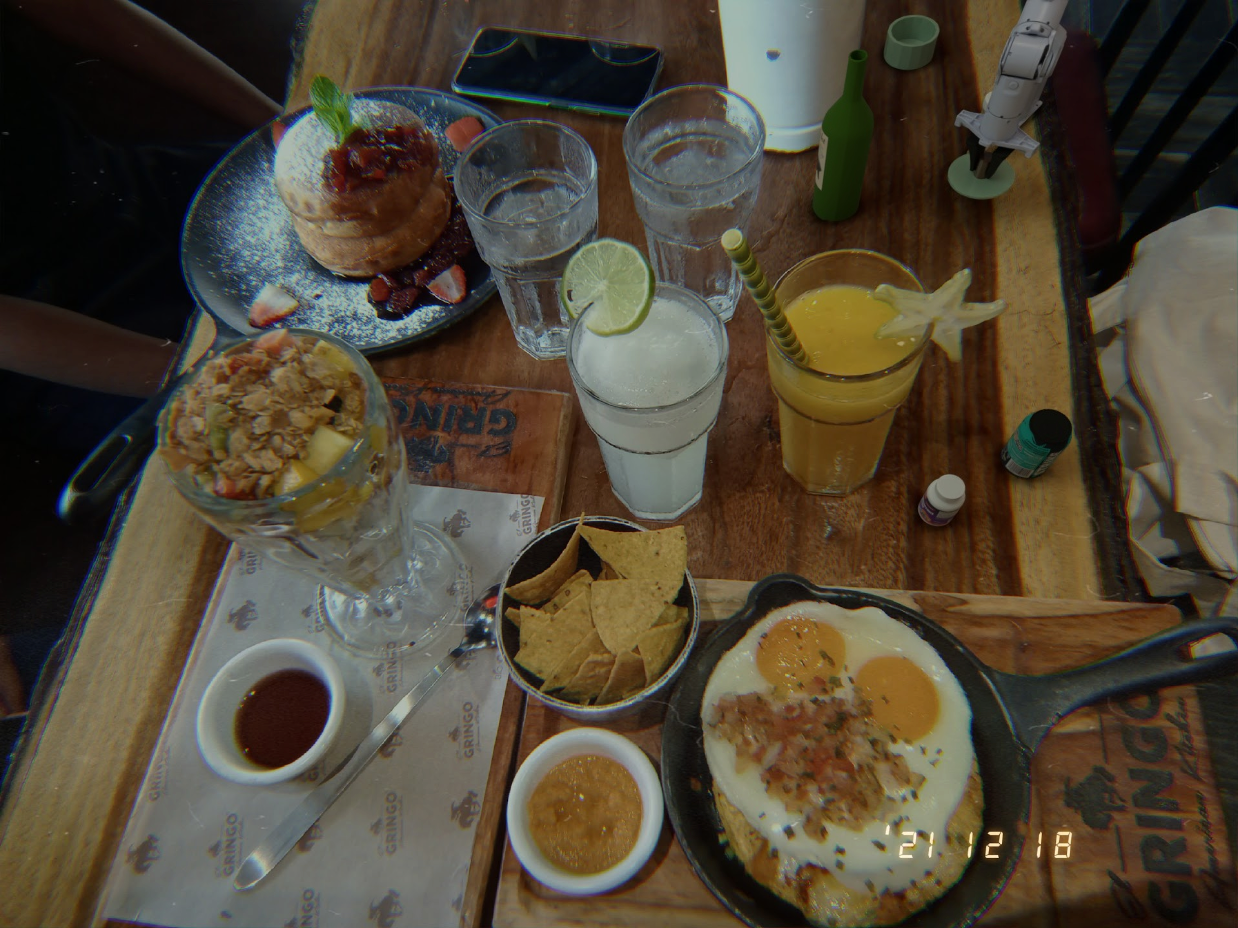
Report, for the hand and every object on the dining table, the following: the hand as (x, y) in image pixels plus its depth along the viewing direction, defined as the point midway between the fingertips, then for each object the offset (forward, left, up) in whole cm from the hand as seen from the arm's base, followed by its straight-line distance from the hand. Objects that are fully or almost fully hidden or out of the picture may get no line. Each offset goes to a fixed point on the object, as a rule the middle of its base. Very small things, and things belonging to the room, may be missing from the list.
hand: (982, 171), depth 133 cm
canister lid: (0, 0, -1) cm, 1 cm away
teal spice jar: (+41, +37, -9) cm, 55 cm away
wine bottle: (+15, -20, -9) cm, 27 cm away
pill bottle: (+57, +32, -9) cm, 66 cm away
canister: (-30, -35, -9) cm, 47 cm away
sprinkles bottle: (-12, -6, -9) cm, 17 cm away
